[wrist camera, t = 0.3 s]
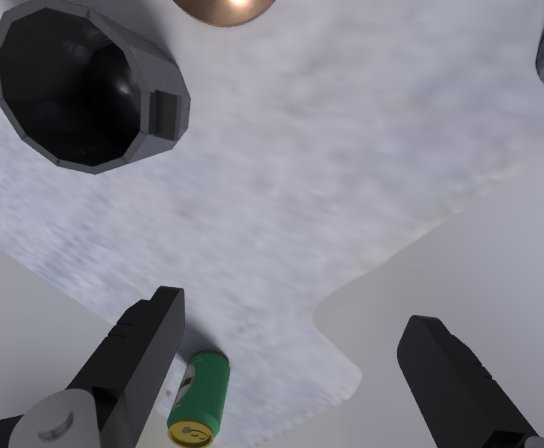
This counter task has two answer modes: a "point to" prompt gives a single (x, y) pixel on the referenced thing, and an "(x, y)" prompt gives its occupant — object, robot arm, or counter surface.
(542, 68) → the moka pot
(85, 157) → the cooking pot
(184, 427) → the beverage can
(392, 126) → the counter surface
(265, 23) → the counter surface
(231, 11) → the lid
